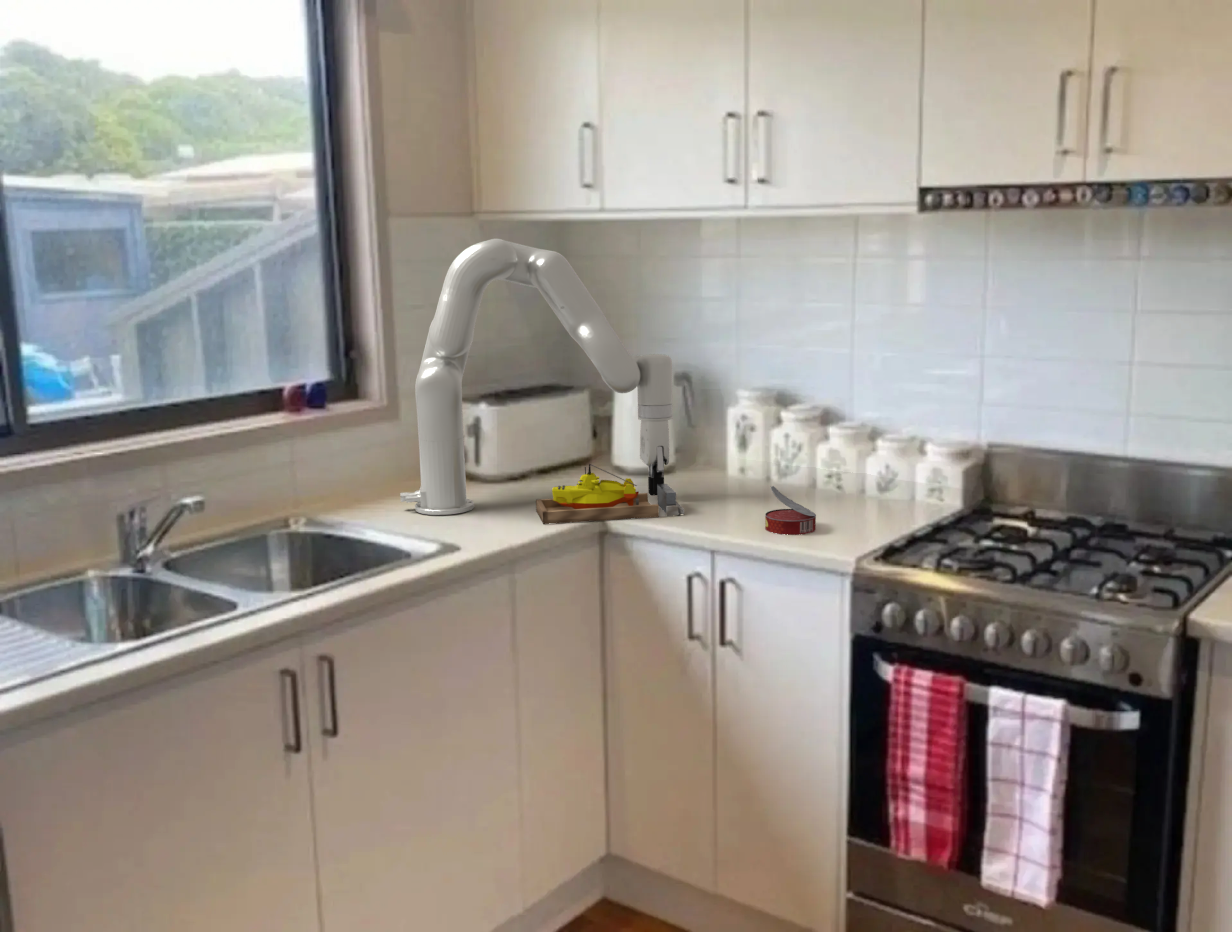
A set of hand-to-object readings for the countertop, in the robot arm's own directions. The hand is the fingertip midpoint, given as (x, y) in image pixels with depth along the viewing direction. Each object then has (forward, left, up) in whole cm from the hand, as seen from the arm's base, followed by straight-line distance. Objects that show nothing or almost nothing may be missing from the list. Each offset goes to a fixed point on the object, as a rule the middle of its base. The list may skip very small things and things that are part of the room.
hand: (656, 494), depth 265 cm
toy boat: (-15, -10, 0) cm, 18 cm away
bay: (-12, -6, -1) cm, 14 cm away
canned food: (+20, -32, -2) cm, 38 cm away
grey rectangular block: (0, -10, -1) cm, 10 cm away
